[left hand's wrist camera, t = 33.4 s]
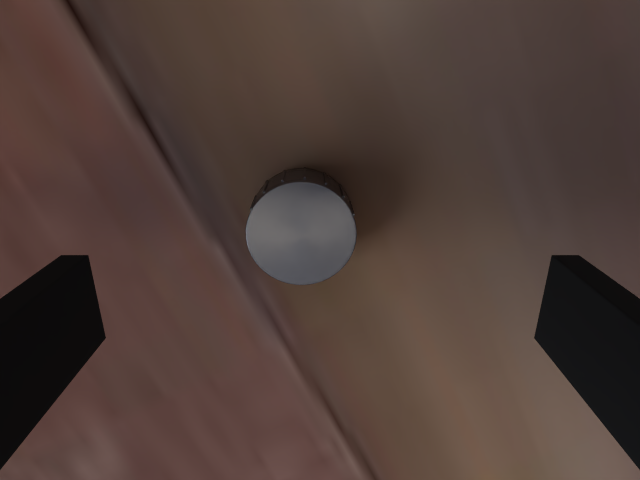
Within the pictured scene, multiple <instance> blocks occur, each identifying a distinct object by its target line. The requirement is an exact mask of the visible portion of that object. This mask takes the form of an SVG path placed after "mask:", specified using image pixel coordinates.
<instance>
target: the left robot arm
mask: <svg viewBox="0 0 640 480" xmlns="http://www.w3.org/2000/svg"><path fill="white" fill-rule="evenodd" d="M105 338H106V337H105V332H104V328H103V323H102V318H101V313H100V309H99V304H98V299H97V294H96V290H95V285H94V280H93V276H92V271H91V266H90V261H89V257H88V255H61V256H59V257H58V258H57V259H55V260H54V261H52V262H51V263H50V264H48V265H47V266H45V267H44V268H43V269H41V270H40V271H38V272H37V273H36V274H34V275H33V276H31V277H30V278H29V279H27V280H26V281H24V282H23V283H22V284H20V285H19V286H17V287H16V288H15V289H13V290H12V291H10V292H9V293H8V294H6V295H5V296H3V297H2V298H1V299H0V469H1V468H2V467H3V466H4V464H5V463H6V462H7V461H8V459H9V458H10V457H11V456H12V454H13V453H14V452H15V451H16V449H17V448H18V447H19V446H20V444H21V443H22V442H23V441H24V439H25V438H26V437H27V436H28V434H29V433H30V432H31V431H32V429H33V428H34V427H35V426H36V424H37V423H38V422H39V421H40V419H41V418H42V417H43V416H44V414H45V413H46V412H47V411H48V409H49V408H50V407H51V406H52V404H53V403H54V402H55V401H56V399H57V398H58V397H59V396H60V394H61V393H62V392H63V391H64V389H65V388H66V387H67V386H68V384H69V383H70V382H71V381H72V379H73V378H74V377H75V376H76V374H77V373H78V372H79V371H80V369H81V368H82V367H83V366H84V364H85V363H86V362H87V361H88V359H89V358H90V357H91V356H92V354H93V353H94V352H95V351H96V349H97V348H98V347H99V346H100V344H101V343H102V342H103V341H104V339H105ZM534 338H535V339H536V341H537V342H538V343H539V344H540V346H541V347H542V348H543V349H544V351H545V352H546V353H547V354H548V356H549V357H550V358H551V359H552V361H553V362H554V363H555V364H556V366H557V367H558V368H559V369H560V371H561V372H562V373H563V374H564V376H565V377H566V378H567V379H568V381H569V382H570V383H571V384H572V386H573V387H574V388H575V389H576V391H577V392H578V393H579V394H580V396H581V397H582V398H583V399H584V401H585V402H586V403H587V404H588V406H589V407H590V408H591V409H592V411H593V412H594V413H595V414H596V416H597V417H598V418H599V419H600V421H601V422H602V423H603V424H604V426H605V427H606V428H607V429H608V431H609V432H610V433H611V434H612V436H613V437H614V438H615V439H616V441H617V442H618V443H619V444H620V446H621V447H622V448H623V449H624V451H625V452H626V453H627V454H628V456H629V457H630V458H631V459H632V461H633V462H634V463H635V464H636V466H637V467H638V468H639V469H640V299H639V298H638V297H637V296H635V295H634V294H632V293H631V292H630V291H628V290H627V289H625V288H624V287H623V286H621V285H620V284H618V283H617V282H616V281H614V280H613V279H611V278H610V277H609V276H607V275H606V274H604V273H603V272H602V271H600V270H599V269H597V268H596V267H595V266H593V265H592V264H590V263H589V262H588V261H586V260H585V259H583V258H582V257H581V256H579V255H552V257H551V261H550V266H549V271H548V276H547V280H546V285H545V290H544V295H543V299H542V304H541V309H540V313H539V318H538V323H537V328H536V332H535V337H534Z"/></svg>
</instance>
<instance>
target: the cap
mask: <svg viewBox="0 0 640 480" xmlns="http://www.w3.org/2000/svg"><path fill="white" fill-rule="evenodd" d="M250 210H251V212H250V214H249V217H248V221H247V226H246V240H247V245H248V249H249V251H250V253H251V256H252V257H253V259H254V261H255V262H256V263H257V265H258V266H259V267H260V268H261V269H262V270H263V271H264V272H266V273H267V274H268V275H270V276H271V277H273V278H275V279H277V280H279V281H282V282H285V283H289V284H295V285H308V284H314V283H318V282H321V281H324V280H326V279H328V278H330V277H331V276H333V275H335V274H336V273H337V272H338V271H340V270H341V269H342V268H343V267H344V266H345V264H346V263H347V262H348V260H349V258H350V257H351V255H352V253H353V250H354V247H355V243H356V236H357V233H356V224H355V220H354V217H353V216H355V214H354V211H353V208H352V205H351V202H350V201H348V198H347V196H346V194H345V192H344V191H343V189H342V186H341V185H339V184H338V183H337V182H336V181H334V180H333V179H332V178H331V177H329V176H328V175H326V173H322V172H319V171H316V170H311V169H306V168H304V169H302V168H301V169H292V170H287V171H286V170H284V171H283V172H282V173H280V174H278V175H276V176H274V177H273V178H271V179H270V180H269V181H268V180H267V181H266V183H265V185H264V186H263V187H262V188H261V190H260V191H259V193H258V195H257V196H256V195H255V198H254V200H253V203H252V205H251V208H250Z"/></svg>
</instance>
